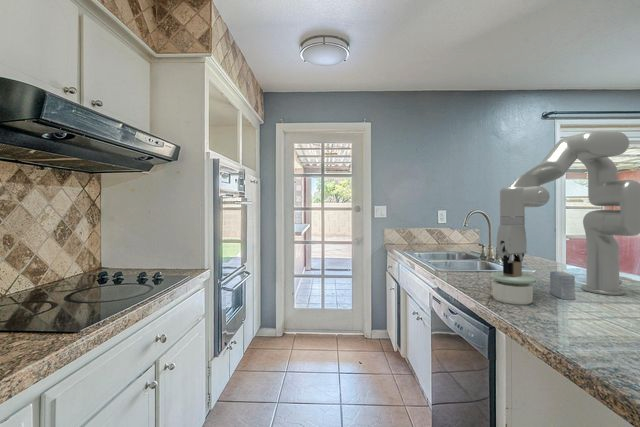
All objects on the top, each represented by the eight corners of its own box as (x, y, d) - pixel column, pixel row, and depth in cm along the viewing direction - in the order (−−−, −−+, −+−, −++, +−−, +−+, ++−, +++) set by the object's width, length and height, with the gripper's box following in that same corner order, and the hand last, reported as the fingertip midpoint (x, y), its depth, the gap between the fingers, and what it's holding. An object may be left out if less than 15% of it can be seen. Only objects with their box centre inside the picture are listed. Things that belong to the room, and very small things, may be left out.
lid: (507, 273, 122) (507, 257, 122) (545, 281, 109) (545, 263, 109) (481, 277, 116) (481, 260, 116) (518, 285, 103) (518, 266, 103)
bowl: (507, 293, 120) (507, 278, 120) (540, 302, 109) (540, 284, 109) (485, 297, 116) (485, 281, 116) (517, 306, 105) (517, 288, 105)
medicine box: (575, 300, 112) (575, 275, 112) (561, 299, 113) (561, 275, 112) (563, 294, 119) (563, 271, 119) (549, 293, 120) (549, 271, 120)
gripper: (517, 220, 119) (517, 269, 119) (486, 221, 112) (486, 273, 113) (538, 221, 112) (538, 272, 112) (505, 222, 106) (506, 277, 106)
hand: (512, 272), depth 113 cm, fingers closed on lid, 4 cm apart
